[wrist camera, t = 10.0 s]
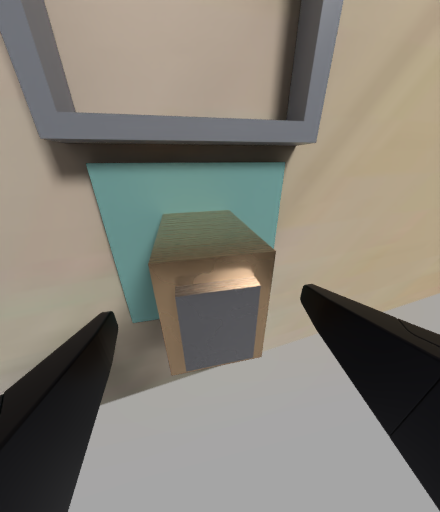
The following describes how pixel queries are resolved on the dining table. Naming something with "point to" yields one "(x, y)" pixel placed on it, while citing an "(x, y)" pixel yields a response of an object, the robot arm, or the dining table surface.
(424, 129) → the dining table surface
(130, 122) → the grey tapered frame
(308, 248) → the dining table surface
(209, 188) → the service mat
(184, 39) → the dining table surface
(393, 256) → the dining table surface
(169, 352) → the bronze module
